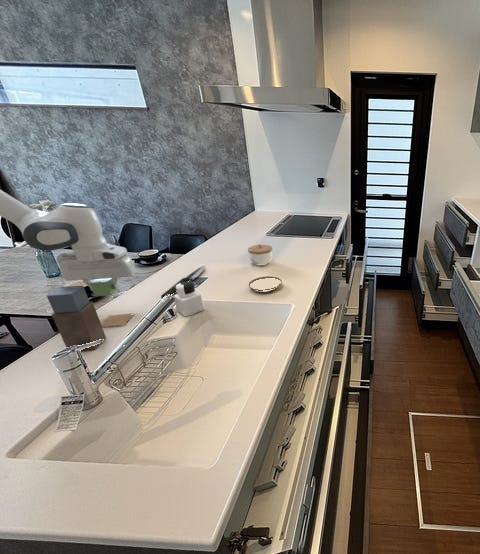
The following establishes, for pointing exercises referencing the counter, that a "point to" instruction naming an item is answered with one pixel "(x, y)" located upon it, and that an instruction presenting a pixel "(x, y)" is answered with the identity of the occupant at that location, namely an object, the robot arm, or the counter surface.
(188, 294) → the medicine bottle
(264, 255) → the lidded bowl
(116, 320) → the cork mat
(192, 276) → the kitchen knife
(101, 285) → the green box
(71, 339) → the storage box
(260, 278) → the plant saucer
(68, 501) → the counter surface
